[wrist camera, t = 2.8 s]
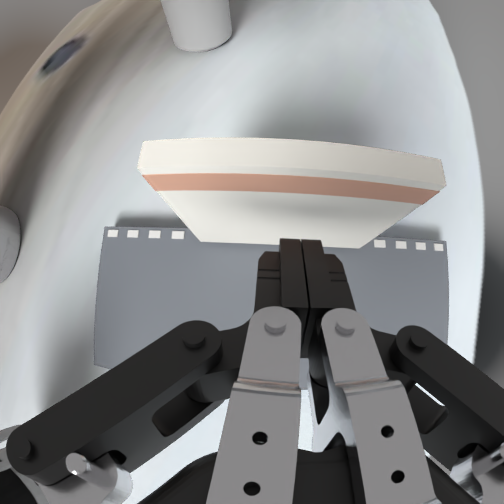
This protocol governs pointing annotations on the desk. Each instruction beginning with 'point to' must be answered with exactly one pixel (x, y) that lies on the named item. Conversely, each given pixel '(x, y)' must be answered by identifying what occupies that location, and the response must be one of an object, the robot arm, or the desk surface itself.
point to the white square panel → (287, 188)
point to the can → (198, 23)
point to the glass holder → (16, 480)
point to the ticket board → (249, 286)
